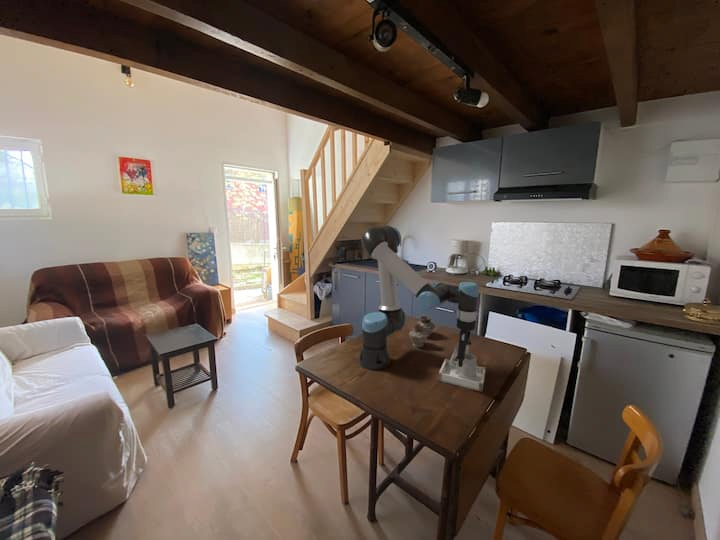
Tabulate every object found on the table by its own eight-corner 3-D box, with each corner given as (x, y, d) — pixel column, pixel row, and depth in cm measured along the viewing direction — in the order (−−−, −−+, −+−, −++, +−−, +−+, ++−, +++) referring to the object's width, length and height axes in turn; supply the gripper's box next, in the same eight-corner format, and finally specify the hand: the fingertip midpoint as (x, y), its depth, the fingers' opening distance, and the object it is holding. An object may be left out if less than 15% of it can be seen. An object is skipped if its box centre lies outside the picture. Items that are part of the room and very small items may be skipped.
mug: (472, 384, 122) (474, 358, 119) (445, 374, 129) (447, 349, 127) (479, 377, 127) (481, 351, 125) (453, 367, 135) (455, 343, 133)
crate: (438, 380, 126) (438, 372, 125) (444, 365, 138) (445, 358, 137) (482, 391, 118) (482, 383, 118) (484, 375, 130) (485, 367, 129)
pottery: (405, 346, 157) (406, 326, 155) (417, 329, 179) (418, 311, 177) (426, 351, 153) (427, 329, 150) (436, 333, 175) (437, 314, 172)
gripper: (472, 331, 110) (467, 382, 114) (479, 311, 132) (474, 354, 136) (451, 327, 113) (448, 377, 118) (461, 308, 135) (458, 350, 140)
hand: (462, 365), depth 127 cm, fingers open, 13 cm apart
